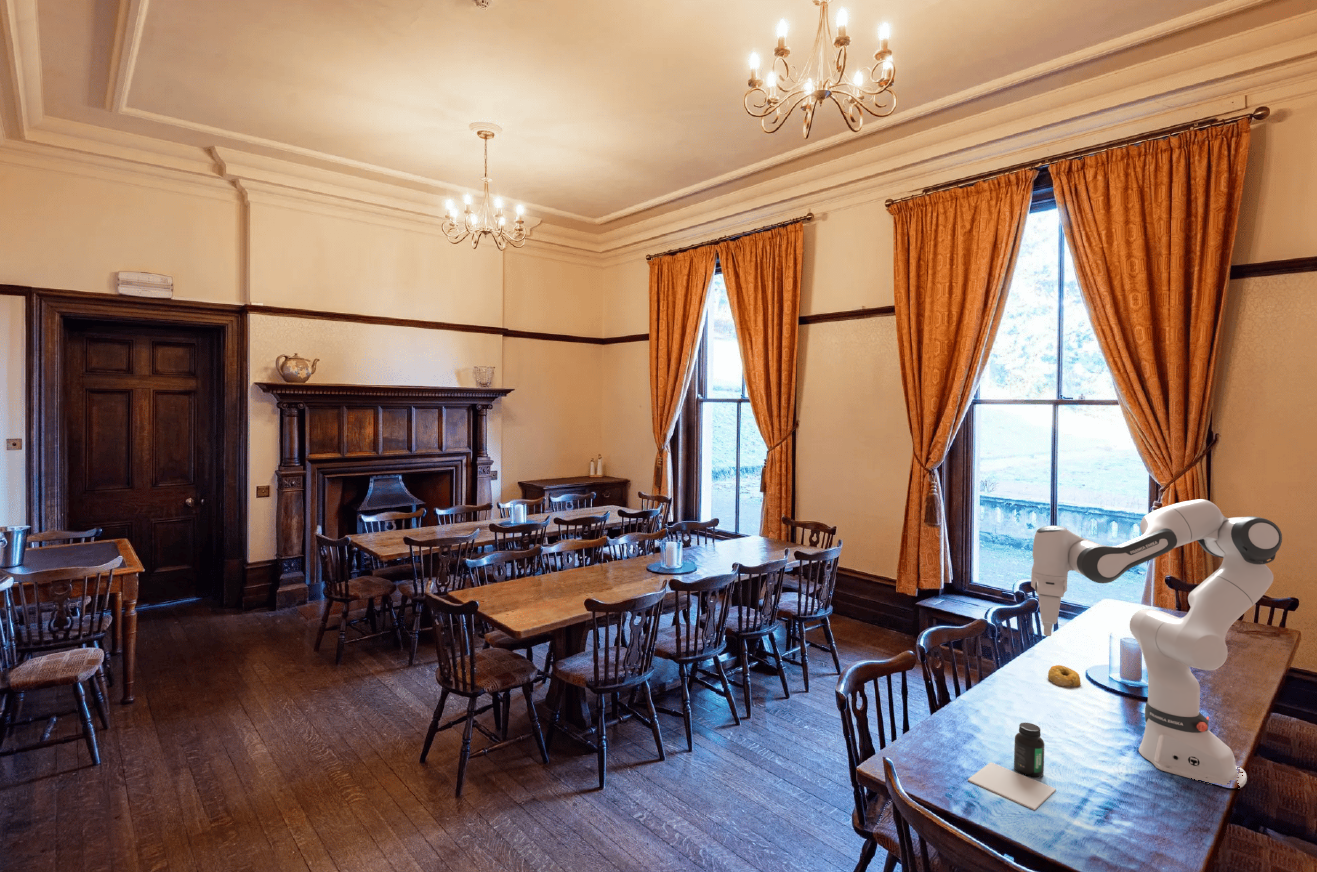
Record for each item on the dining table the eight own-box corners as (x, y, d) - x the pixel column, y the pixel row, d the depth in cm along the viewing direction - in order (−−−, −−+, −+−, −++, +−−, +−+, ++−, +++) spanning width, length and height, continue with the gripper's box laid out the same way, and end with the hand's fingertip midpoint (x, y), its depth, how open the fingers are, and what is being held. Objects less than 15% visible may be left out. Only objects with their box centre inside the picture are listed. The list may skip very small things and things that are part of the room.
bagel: (1043, 682, 230) (1044, 669, 230) (1052, 673, 238) (1053, 661, 237) (1076, 691, 223) (1076, 677, 223) (1084, 682, 230) (1085, 669, 230)
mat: (1056, 790, 164) (1056, 788, 164) (1034, 810, 156) (1034, 808, 156) (990, 763, 177) (990, 761, 177) (967, 780, 169) (967, 779, 169)
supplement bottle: (1045, 780, 169) (1047, 735, 168) (1015, 775, 171) (1017, 730, 171) (1041, 767, 175) (1042, 723, 175) (1012, 762, 178) (1013, 718, 177)
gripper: (1035, 573, 198) (1032, 618, 199) (1037, 589, 180) (1034, 638, 181) (1059, 576, 195) (1057, 621, 196) (1064, 592, 177) (1061, 643, 178)
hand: (1046, 630), depth 188 cm, fingers open, 8 cm apart
